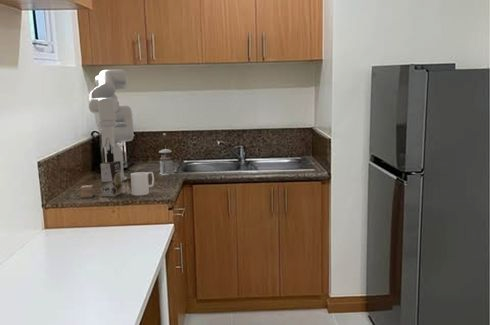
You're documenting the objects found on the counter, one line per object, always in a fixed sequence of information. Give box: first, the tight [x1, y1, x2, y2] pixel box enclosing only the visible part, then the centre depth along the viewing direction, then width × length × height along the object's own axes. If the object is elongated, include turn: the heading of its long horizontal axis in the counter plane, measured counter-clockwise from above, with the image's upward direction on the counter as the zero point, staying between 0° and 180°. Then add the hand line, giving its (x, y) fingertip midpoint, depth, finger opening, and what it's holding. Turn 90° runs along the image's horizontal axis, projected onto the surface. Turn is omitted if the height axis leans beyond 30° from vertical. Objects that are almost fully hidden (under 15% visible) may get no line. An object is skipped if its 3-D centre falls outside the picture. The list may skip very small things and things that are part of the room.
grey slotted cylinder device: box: [158, 132, 176, 176], centre depth 286 cm, size 10×12×25 cm
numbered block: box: [80, 184, 95, 199], centre depth 228 cm, size 5×5×5 cm
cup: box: [130, 171, 155, 196], centre depth 231 cm, size 8×12×10 cm
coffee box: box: [100, 161, 123, 197], centre depth 229 cm, size 9×6×16 cm
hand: (110, 161), depth 228 cm, fingers closed
